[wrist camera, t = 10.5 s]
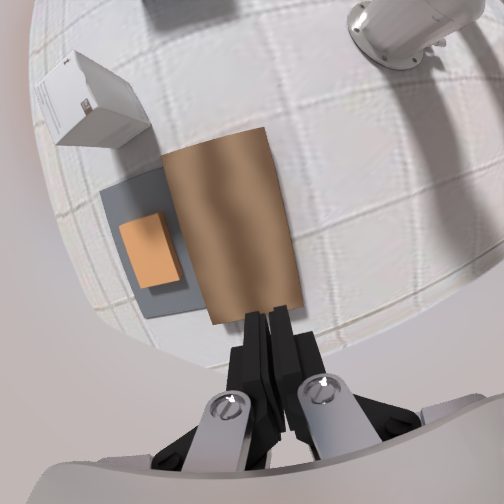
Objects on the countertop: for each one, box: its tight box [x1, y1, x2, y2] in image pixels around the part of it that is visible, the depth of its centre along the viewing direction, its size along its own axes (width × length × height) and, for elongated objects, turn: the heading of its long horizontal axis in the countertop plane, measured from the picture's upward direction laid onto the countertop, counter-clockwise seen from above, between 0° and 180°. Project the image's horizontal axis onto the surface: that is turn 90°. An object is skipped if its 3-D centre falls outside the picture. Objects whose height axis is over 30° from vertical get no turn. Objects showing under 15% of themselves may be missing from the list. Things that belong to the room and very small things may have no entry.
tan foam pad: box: [119, 211, 183, 288], centre depth 34 cm, size 9×6×2 cm, turn 14°
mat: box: [100, 167, 206, 318], centre depth 36 cm, size 11×20×1 cm, turn 14°
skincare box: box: [34, 50, 151, 149], centre depth 23 cm, size 8×6×15 cm
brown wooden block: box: [161, 127, 304, 325], centre depth 33 cm, size 12×22×4 cm, turn 14°
